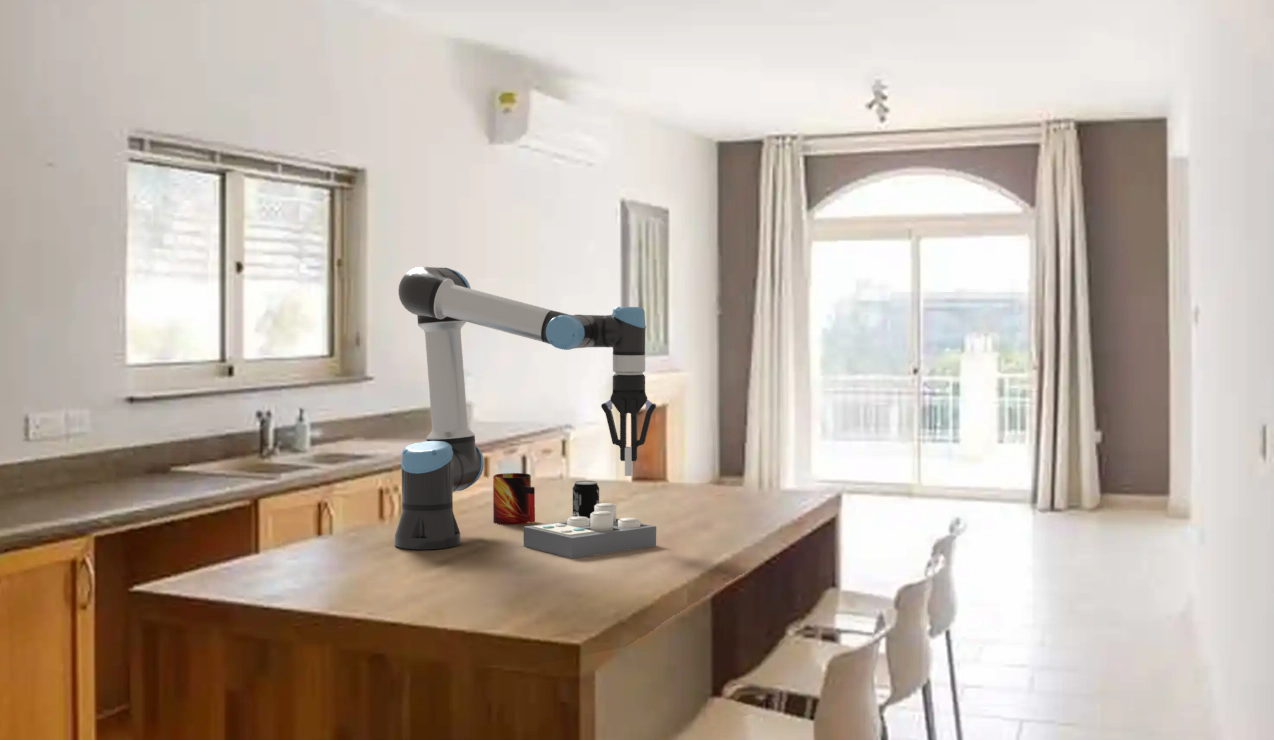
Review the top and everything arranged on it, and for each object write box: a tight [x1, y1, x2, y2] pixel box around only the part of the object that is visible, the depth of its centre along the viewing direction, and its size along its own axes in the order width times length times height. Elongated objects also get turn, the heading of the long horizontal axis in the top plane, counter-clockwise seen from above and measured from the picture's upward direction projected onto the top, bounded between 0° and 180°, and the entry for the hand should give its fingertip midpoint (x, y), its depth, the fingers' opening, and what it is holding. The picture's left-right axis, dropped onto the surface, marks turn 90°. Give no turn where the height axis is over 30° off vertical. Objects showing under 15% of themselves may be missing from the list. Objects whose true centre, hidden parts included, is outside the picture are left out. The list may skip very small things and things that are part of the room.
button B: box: [594, 502, 617, 522], centre depth 302 cm, size 5×5×5 cm
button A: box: [566, 516, 589, 527], centre depth 297 cm, size 5×5×5 cm
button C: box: [590, 511, 613, 532], centre depth 290 cm, size 5×5×5 cm
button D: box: [618, 517, 641, 529], centre depth 295 cm, size 5×5×5 cm
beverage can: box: [572, 480, 600, 518], centre depth 315 cm, size 7×7×12 cm
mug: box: [492, 472, 536, 526], centre depth 327 cm, size 10×14×12 cm
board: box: [523, 517, 657, 559], centre depth 294 cm, size 24×19×5 cm
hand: (628, 475), depth 295 cm, fingers closed
